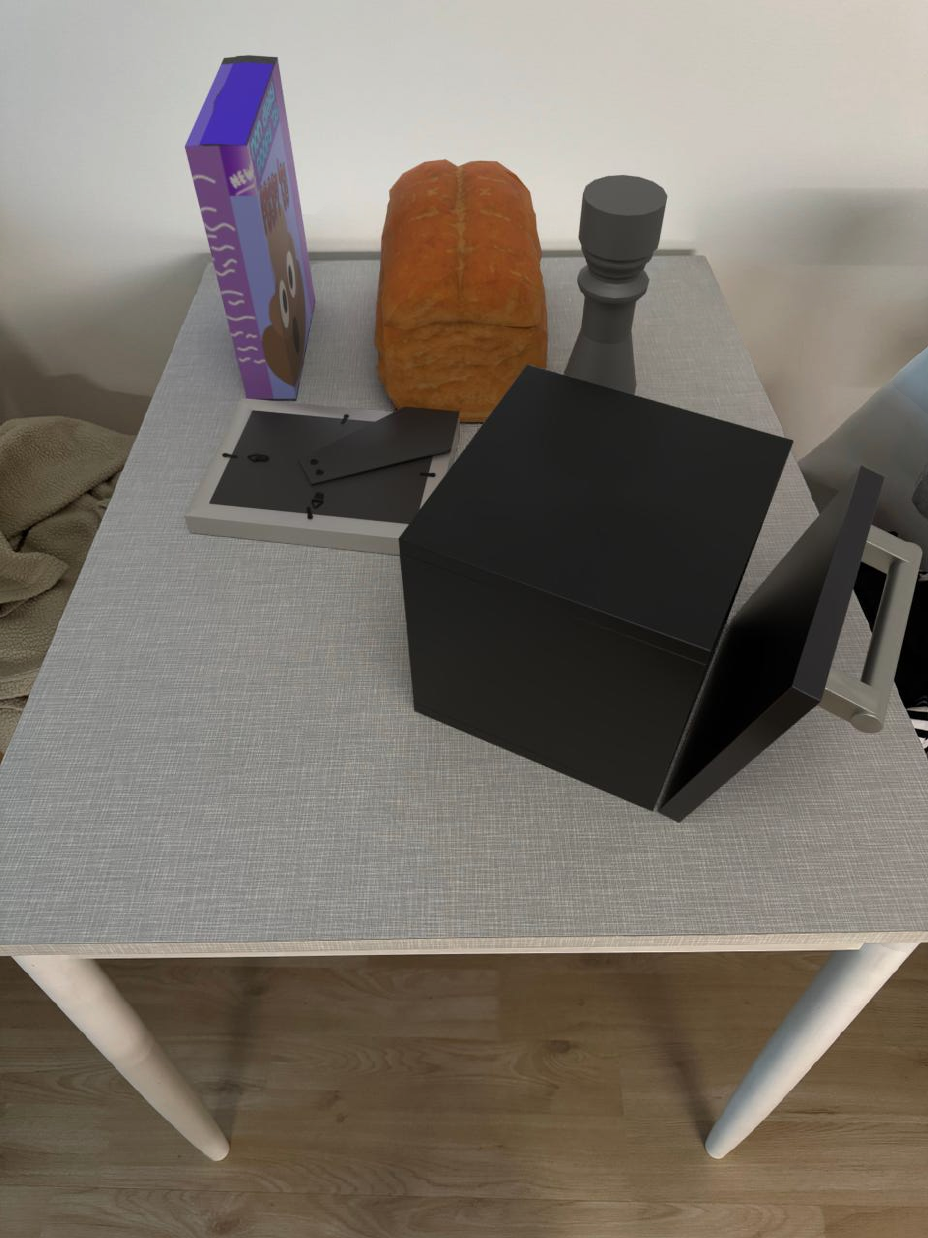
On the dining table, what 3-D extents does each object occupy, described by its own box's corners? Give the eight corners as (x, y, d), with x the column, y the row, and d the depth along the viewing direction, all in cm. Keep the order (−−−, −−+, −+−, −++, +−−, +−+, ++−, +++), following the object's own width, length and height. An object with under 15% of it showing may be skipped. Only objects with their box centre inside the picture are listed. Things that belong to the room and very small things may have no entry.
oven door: (801, 655, 67) (951, 509, 53) (738, 855, 57) (902, 744, 43) (731, 619, 68) (861, 464, 53) (657, 811, 58) (791, 686, 43)
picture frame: (459, 435, 82) (245, 415, 84) (459, 411, 80) (239, 391, 82) (431, 558, 72) (190, 533, 74) (429, 535, 70) (181, 509, 72)
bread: (377, 426, 83) (360, 270, 70) (388, 274, 99) (376, 126, 87) (547, 424, 83) (561, 267, 70) (530, 272, 99) (538, 123, 87)
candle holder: (603, 444, 81) (646, 167, 61) (632, 487, 77) (687, 208, 58) (541, 458, 80) (564, 180, 60) (567, 503, 76) (601, 223, 57)
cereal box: (296, 400, 85) (246, 142, 66) (247, 400, 85) (183, 143, 66) (315, 300, 96) (277, 54, 77) (271, 300, 96) (223, 54, 77)
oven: (727, 620, 68) (794, 439, 54) (652, 811, 58) (711, 651, 44) (515, 546, 73) (526, 363, 59) (413, 711, 63) (397, 538, 49)
